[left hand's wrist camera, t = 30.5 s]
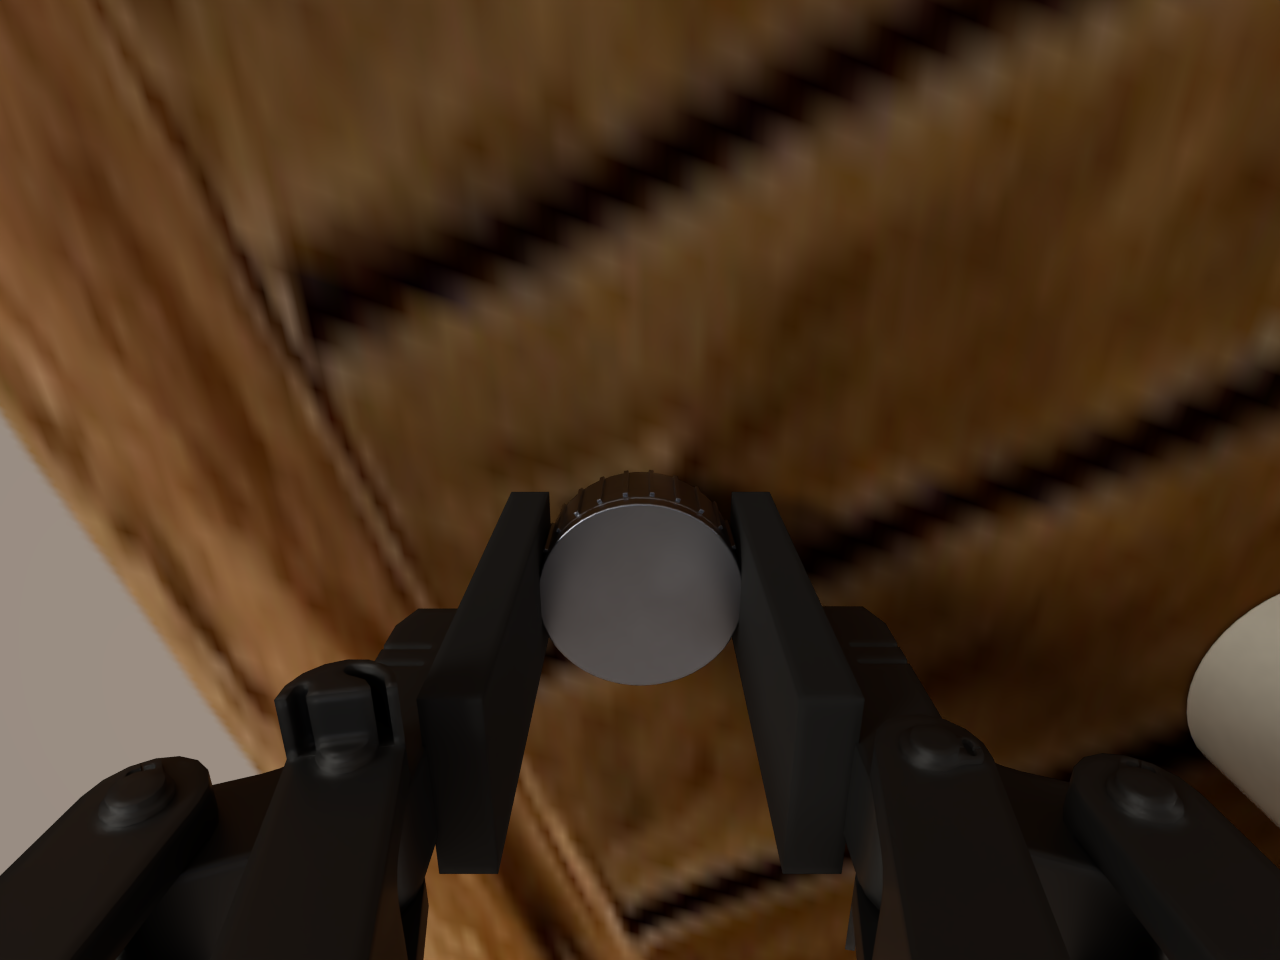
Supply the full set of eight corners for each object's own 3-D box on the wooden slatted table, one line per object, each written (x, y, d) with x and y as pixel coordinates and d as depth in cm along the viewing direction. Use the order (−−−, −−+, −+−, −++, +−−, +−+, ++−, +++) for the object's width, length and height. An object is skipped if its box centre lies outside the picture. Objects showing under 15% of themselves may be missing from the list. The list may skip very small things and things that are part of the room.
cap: (615, 430, 14) (612, 458, 12) (775, 536, 14) (791, 576, 13) (509, 578, 15) (494, 622, 13) (663, 669, 16) (665, 720, 14)
